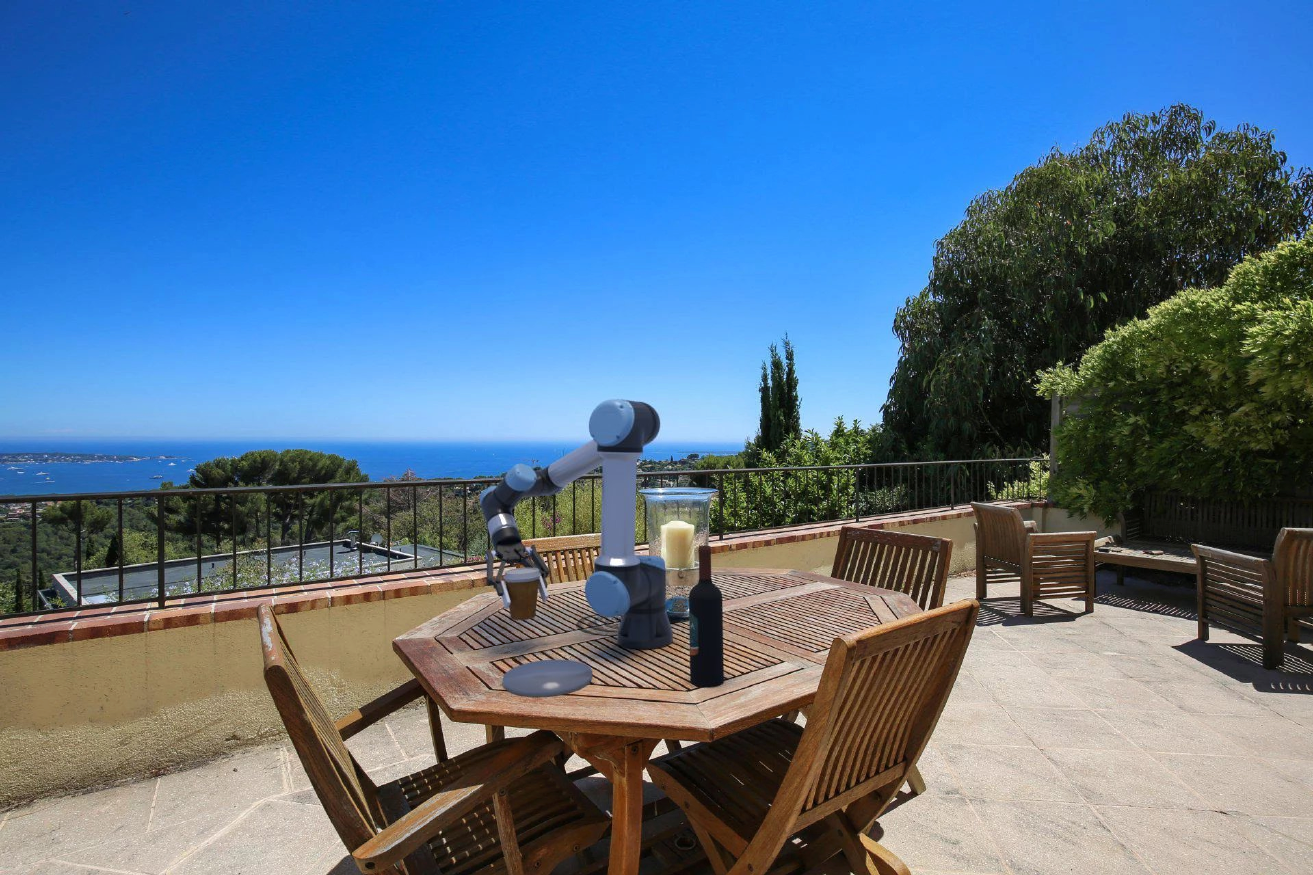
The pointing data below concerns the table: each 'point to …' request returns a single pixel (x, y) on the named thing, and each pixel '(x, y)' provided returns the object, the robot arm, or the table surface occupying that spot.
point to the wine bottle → (706, 627)
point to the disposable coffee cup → (522, 592)
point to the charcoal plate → (547, 678)
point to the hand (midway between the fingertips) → (527, 602)
